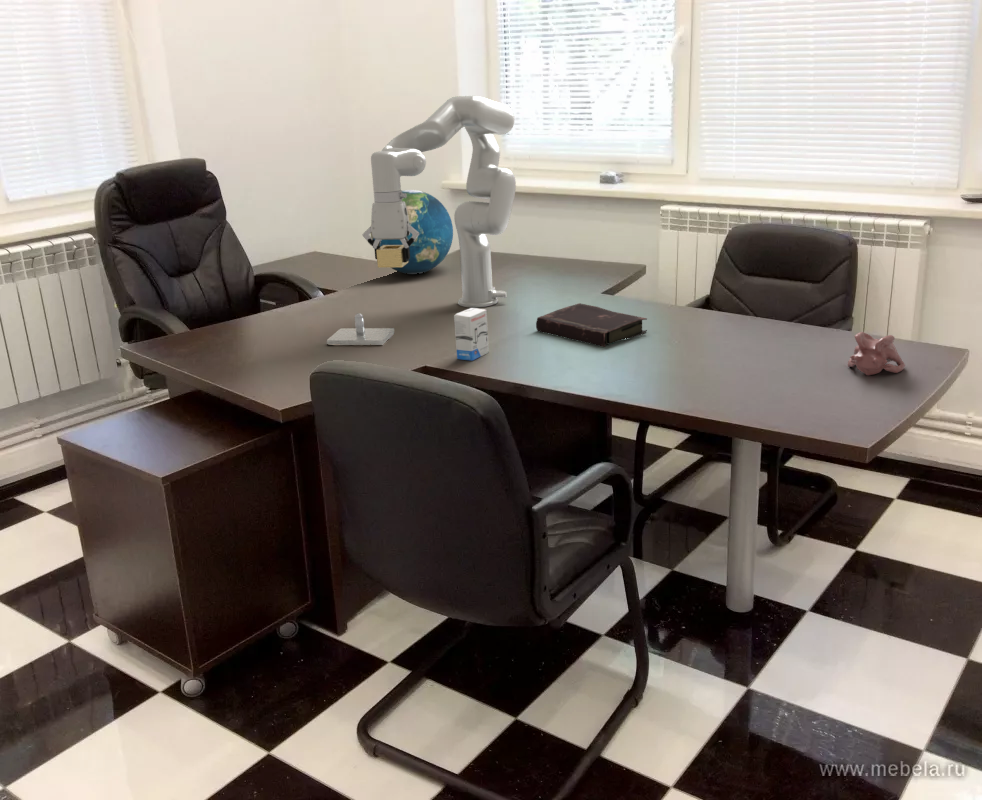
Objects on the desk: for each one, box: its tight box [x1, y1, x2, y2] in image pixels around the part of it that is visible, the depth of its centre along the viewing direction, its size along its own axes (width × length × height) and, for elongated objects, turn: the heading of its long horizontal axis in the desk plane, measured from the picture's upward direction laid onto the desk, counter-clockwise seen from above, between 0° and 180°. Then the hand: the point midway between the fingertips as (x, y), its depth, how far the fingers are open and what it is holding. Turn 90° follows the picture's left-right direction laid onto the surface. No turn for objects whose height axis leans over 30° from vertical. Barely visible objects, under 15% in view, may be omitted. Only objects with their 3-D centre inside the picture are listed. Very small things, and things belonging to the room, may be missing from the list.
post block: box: [326, 313, 395, 346], centre depth 261 cm, size 16×12×8 cm
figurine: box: [847, 331, 906, 376], centre depth 213 cm, size 12×10×15 cm
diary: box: [535, 302, 648, 348], centre depth 257 cm, size 19×25×5 cm
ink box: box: [453, 307, 490, 361], centre depth 240 cm, size 9×5×12 cm, turn 148°
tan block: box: [376, 245, 408, 269], centre depth 262 cm, size 7×7×5 cm
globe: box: [370, 189, 454, 275], centre depth 337 cm, size 30×30×30 cm
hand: (392, 261), depth 263 cm, fingers closed on tan block, 7 cm apart
